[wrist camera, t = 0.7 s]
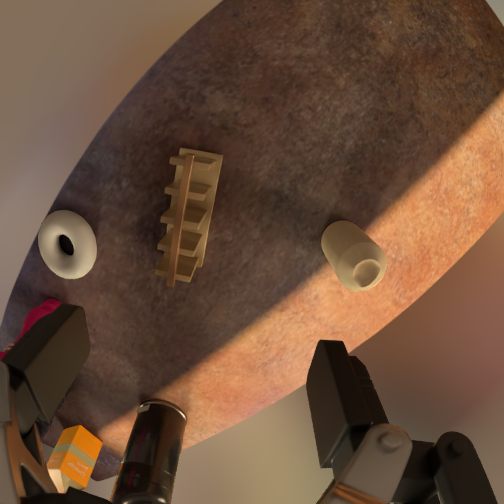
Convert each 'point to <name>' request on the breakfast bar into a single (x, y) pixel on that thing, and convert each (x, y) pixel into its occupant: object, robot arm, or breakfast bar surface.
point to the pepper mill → (34, 319)
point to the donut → (79, 237)
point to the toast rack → (188, 213)
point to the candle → (353, 256)
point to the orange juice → (73, 458)
